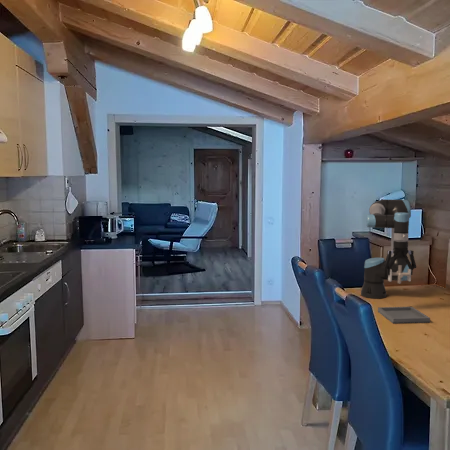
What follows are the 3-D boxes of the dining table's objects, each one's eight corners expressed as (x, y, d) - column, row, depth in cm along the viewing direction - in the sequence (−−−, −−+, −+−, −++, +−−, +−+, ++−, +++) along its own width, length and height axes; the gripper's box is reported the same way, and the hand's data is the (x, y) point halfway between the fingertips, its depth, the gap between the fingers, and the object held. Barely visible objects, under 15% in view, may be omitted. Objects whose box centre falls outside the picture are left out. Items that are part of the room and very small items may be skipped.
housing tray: (377, 311, 253) (377, 307, 252) (411, 311, 254) (411, 306, 253) (393, 323, 233) (393, 318, 232) (429, 322, 234) (430, 317, 234)
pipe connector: (410, 285, 248) (411, 267, 247) (391, 284, 250) (391, 266, 249) (407, 281, 258) (408, 264, 257) (388, 280, 260) (389, 263, 259)
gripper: (383, 241, 248) (381, 282, 250) (424, 241, 249) (422, 282, 251) (377, 240, 255) (376, 279, 257) (417, 239, 257) (416, 279, 258)
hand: (399, 280), depth 254 cm, fingers closed on pipe connector, 10 cm apart
